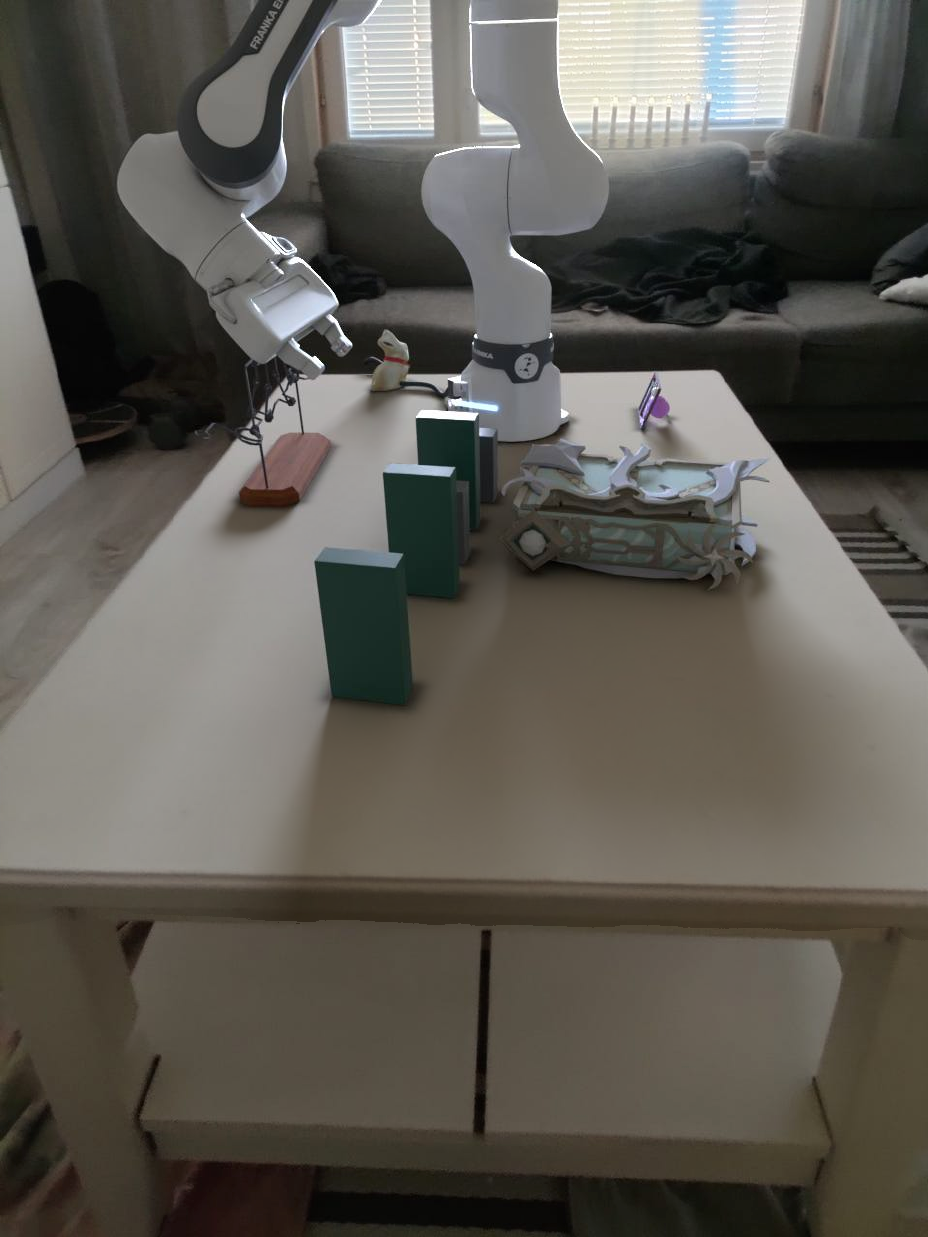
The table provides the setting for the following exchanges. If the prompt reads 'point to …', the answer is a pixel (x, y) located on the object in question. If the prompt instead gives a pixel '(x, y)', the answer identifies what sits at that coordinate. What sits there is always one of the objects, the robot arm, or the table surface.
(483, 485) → the grey books
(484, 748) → the table surface
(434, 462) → the green book
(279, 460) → the figure sculpture
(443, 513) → the green books
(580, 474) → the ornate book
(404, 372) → the chocolate bunny
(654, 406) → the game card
